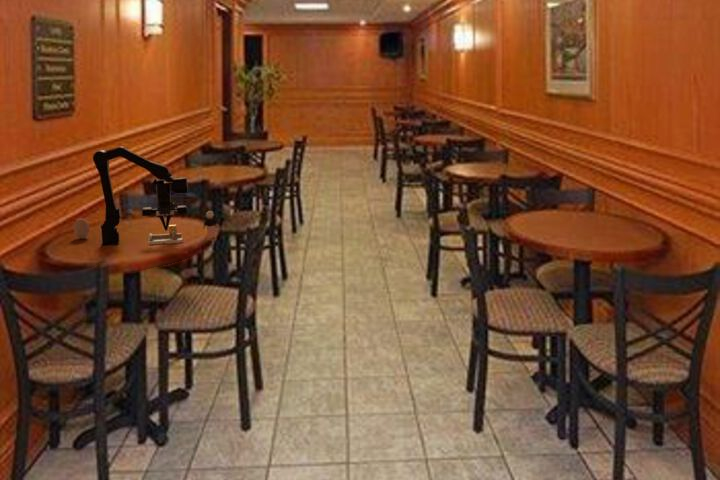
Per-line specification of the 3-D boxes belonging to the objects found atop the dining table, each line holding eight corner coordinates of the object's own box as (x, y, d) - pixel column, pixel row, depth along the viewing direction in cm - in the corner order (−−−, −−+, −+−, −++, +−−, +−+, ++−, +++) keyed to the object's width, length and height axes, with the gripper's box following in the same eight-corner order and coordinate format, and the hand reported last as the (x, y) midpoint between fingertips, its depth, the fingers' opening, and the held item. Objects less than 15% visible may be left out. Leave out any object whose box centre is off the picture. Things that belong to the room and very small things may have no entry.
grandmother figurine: (214, 237, 336) (213, 209, 334) (220, 238, 334) (219, 210, 331) (201, 240, 331) (199, 211, 328) (207, 241, 328) (205, 212, 325)
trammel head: (169, 238, 327) (169, 227, 326) (169, 235, 333) (169, 224, 332) (177, 238, 328) (176, 227, 327) (176, 235, 334) (176, 224, 333)
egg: (93, 237, 339) (91, 217, 337) (83, 240, 333) (81, 220, 331) (81, 236, 341) (80, 216, 339) (71, 239, 335) (69, 219, 333)
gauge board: (148, 244, 324) (148, 236, 324) (149, 239, 334) (148, 232, 333) (182, 242, 328) (182, 234, 327) (182, 237, 337) (181, 230, 336)
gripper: (140, 198, 317) (143, 235, 321) (186, 196, 322) (188, 232, 325) (141, 194, 328) (143, 230, 331) (185, 192, 332) (188, 227, 336)
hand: (166, 230), depth 331 cm, fingers closed
